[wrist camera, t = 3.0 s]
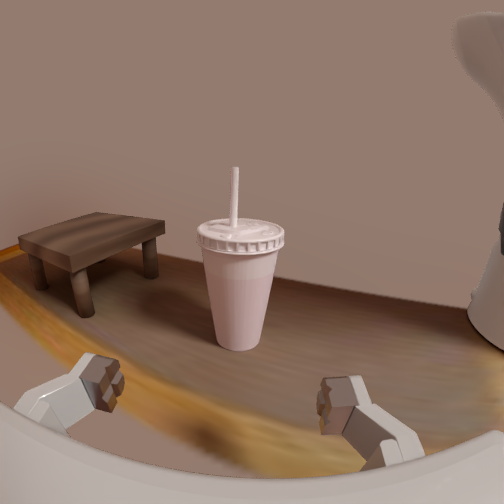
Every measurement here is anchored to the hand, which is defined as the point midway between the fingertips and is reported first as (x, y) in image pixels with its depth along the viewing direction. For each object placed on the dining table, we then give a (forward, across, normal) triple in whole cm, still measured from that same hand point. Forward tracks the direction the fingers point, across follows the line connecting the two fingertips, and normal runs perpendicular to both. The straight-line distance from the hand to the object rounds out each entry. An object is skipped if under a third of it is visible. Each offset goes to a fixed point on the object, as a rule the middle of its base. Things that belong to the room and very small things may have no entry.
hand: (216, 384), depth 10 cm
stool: (+20, +19, +7) cm, 28 cm away
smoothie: (+12, 0, +7) cm, 14 cm away
